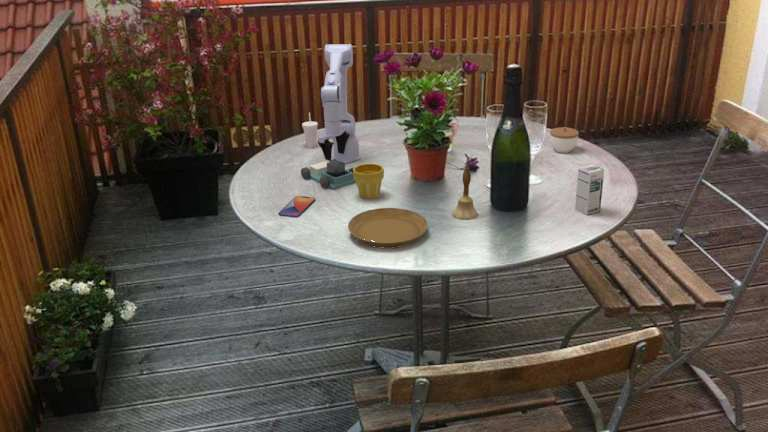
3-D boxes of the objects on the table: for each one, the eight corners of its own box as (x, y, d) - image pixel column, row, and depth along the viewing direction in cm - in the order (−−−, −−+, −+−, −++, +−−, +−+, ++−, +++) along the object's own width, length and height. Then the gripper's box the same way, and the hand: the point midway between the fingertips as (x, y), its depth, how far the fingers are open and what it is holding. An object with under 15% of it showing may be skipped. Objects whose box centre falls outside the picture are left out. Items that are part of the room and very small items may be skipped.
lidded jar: (579, 154, 278) (582, 131, 274) (551, 155, 278) (553, 132, 274) (573, 145, 288) (575, 123, 284) (546, 146, 288) (548, 123, 284)
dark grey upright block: (334, 175, 261) (333, 160, 258) (345, 178, 258) (344, 162, 256) (327, 179, 258) (326, 163, 255) (338, 181, 255) (337, 165, 253)
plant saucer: (422, 254, 207) (422, 244, 206) (340, 249, 211) (340, 239, 210) (431, 219, 229) (431, 209, 227) (357, 215, 233) (357, 206, 231)
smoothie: (320, 143, 297) (318, 110, 291) (317, 149, 291) (315, 115, 285) (305, 143, 298) (302, 110, 292) (302, 148, 292) (299, 115, 286)
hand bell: (473, 208, 235) (475, 161, 228) (481, 218, 228) (483, 171, 221) (449, 210, 234) (449, 164, 227) (455, 220, 226) (456, 173, 220)
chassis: (329, 166, 273) (329, 156, 271) (362, 180, 259) (361, 170, 257) (298, 175, 265) (297, 165, 263) (329, 191, 251) (329, 180, 249)
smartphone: (277, 216, 234) (277, 213, 233) (296, 198, 246) (296, 195, 246) (298, 219, 232) (298, 216, 231) (316, 200, 244) (316, 197, 244)
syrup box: (586, 215, 228) (591, 172, 222) (574, 208, 232) (578, 166, 226) (600, 211, 230) (605, 169, 224) (587, 205, 235) (591, 163, 229)
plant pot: (347, 195, 247) (346, 169, 243) (368, 187, 253) (368, 160, 249) (369, 203, 240) (368, 176, 236) (390, 194, 247) (390, 167, 243)
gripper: (336, 112, 257) (338, 148, 263) (310, 123, 246) (313, 160, 252) (352, 115, 253) (353, 151, 259) (326, 126, 243) (329, 164, 248)
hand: (334, 156), depth 255 cm, fingers open, 7 cm apart
